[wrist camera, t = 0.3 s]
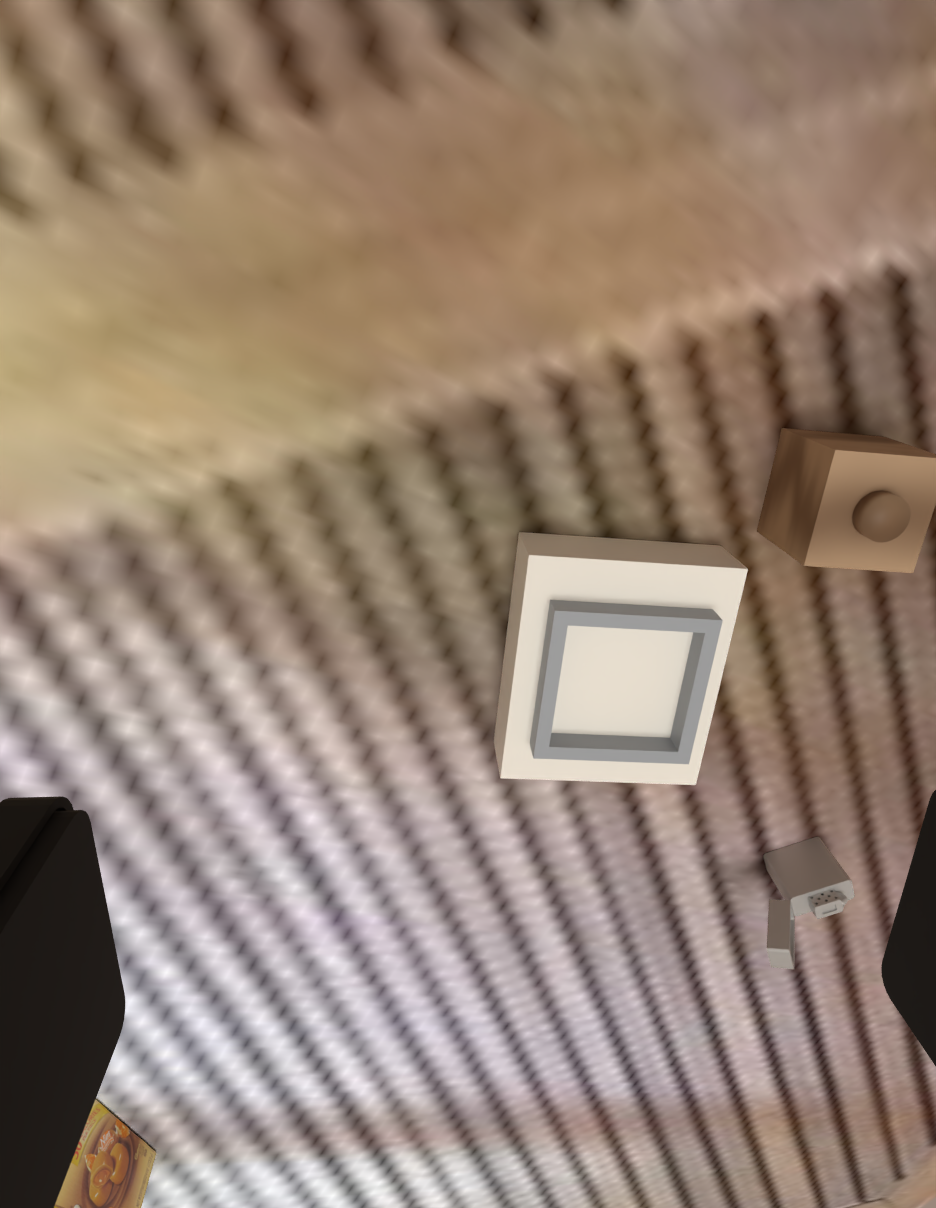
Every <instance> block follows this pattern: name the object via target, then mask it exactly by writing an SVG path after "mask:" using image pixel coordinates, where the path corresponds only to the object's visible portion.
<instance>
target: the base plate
mask: <svg viewBox="0 0 936 1208" xmlns="http://www.w3.org/2000/svg"><path fill="white" fill-rule="evenodd" d="M747 571H748V569H747V568H746V567H745V566H744V565H743V564H742V563H740V562H739V561H738V560H737V559H736V558H735V557H733V556H732V555H731V554H730V553H729V552H728V551H727V550H725V549H724V548H723V547H722V546H721V545H706V544H691V543H676V542H661V541H646V540H631V539H616V538H601V537H586V536H571V535H556V534H541V533H526V532H519V536H518V544H517V552H516V561H515V569H514V577H513V585H512V594H511V602H510V610H509V618H508V627H507V635H506V643H505V651H504V660H503V668H502V676H501V684H500V693H499V701H498V709H497V717H496V726H495V734H494V746H495V751H496V757H497V762H498V768H499V773H500V778H510V779H539V780H568V781H597V782H626V783H655V784H684V785H696V782H697V777H698V773H699V769H700V765H701V761H702V757H703V753H704V749H705V744H706V740H707V736H708V732H709V728H710V724H711V720H712V716H713V711H714V707H715V703H716V699H717V695H718V691H719V687H720V683H721V678H722V674H723V670H724V666H725V662H726V658H727V654H728V650H729V645H730V641H731V637H732V633H733V629H734V625H735V621H736V617H737V612H738V608H739V604H740V600H741V596H742V592H743V588H744V583H745V579H746V575H747Z"/></svg>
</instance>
